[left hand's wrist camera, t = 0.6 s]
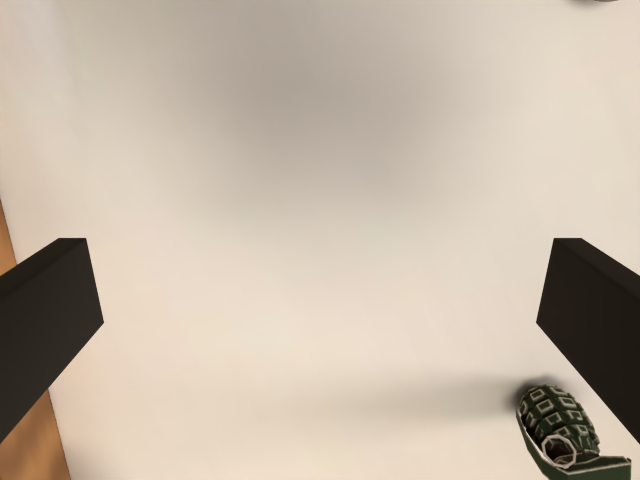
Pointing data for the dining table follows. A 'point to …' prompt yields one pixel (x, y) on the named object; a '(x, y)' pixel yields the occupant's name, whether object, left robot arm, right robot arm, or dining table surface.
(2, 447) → the beam
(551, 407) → the grenade
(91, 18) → the dining table surface
